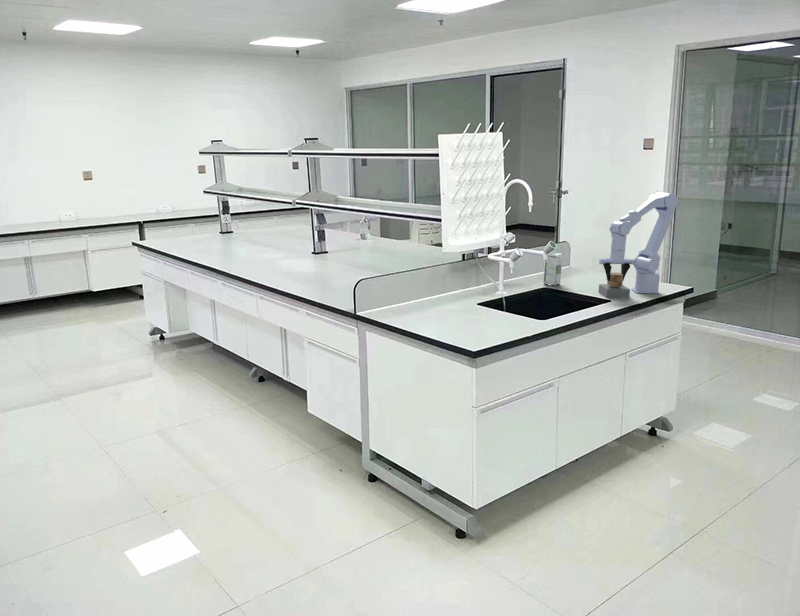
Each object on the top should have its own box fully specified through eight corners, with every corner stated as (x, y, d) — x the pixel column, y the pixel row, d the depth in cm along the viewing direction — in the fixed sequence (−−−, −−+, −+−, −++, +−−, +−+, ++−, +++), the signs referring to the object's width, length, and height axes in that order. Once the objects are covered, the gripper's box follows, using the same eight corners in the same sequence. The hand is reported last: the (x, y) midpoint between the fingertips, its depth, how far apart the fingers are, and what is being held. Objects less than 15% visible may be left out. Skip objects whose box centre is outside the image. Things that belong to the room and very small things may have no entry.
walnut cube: (618, 283, 281) (619, 272, 279) (622, 286, 276) (623, 274, 275) (607, 283, 281) (608, 272, 280) (610, 286, 276) (611, 275, 275)
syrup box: (548, 282, 302) (551, 251, 299) (560, 284, 299) (562, 253, 295) (543, 284, 298) (545, 253, 294) (554, 286, 294) (557, 255, 291)
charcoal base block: (620, 292, 285) (621, 284, 283) (629, 298, 275) (630, 289, 274) (598, 293, 284) (599, 284, 283) (606, 298, 275) (607, 289, 273)
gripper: (632, 248, 278) (629, 278, 281) (598, 247, 278) (595, 278, 282) (637, 250, 271) (634, 282, 275) (602, 250, 271) (600, 281, 275)
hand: (615, 280), depth 278 cm, fingers open, 5 cm apart
